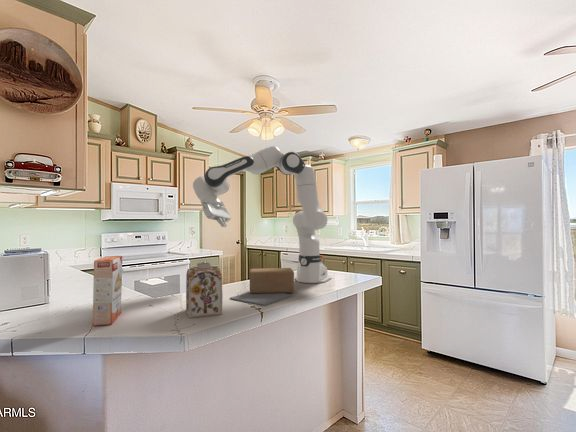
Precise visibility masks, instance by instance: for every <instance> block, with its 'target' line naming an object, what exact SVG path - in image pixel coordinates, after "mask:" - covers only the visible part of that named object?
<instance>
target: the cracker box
mask: <svg viewBox="0 0 576 432" xmlns="http://www.w3.org/2000/svg"><path fill="white" fill-rule="evenodd" d="M122 278H123V256H122V255H108V256H107V255H106V256H103V257H100V258H98V259H95V260H93V287H92V288H93V293H92V294H93V295H92V296H93V297H92V326H93V327H95V326H108V325H109V326H110V325H113V323H114V322H115V321H116V319H118V317H119V316H120V314H121V313H122V291H123V290H122V288H123V287H122V284H123V283H122V282H123V279H122Z"/></svg>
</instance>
